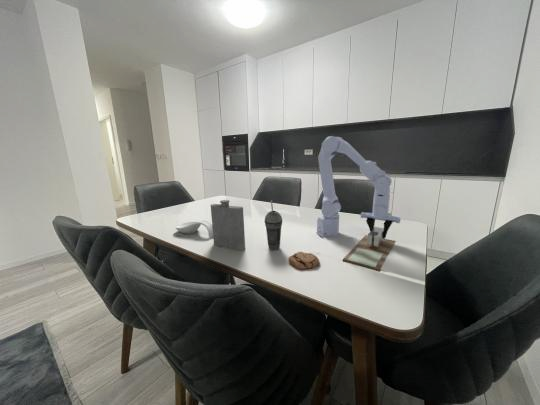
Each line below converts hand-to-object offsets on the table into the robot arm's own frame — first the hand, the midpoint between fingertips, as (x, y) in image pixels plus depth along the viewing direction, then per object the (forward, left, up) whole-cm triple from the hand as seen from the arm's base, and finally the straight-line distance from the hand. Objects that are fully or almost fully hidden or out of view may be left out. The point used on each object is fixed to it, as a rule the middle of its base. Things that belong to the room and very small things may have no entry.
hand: (378, 236), depth 92 cm
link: (-3, -2, -1) cm, 4 cm away
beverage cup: (-43, +8, -3) cm, 44 cm away
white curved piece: (-75, +36, -3) cm, 84 cm away
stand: (-8, -6, -3) cm, 10 cm away
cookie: (-36, -7, -3) cm, 37 cm away
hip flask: (-61, +15, -3) cm, 63 cm away
